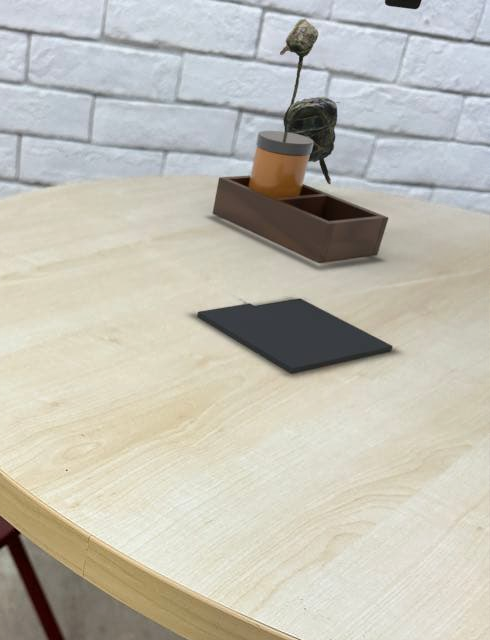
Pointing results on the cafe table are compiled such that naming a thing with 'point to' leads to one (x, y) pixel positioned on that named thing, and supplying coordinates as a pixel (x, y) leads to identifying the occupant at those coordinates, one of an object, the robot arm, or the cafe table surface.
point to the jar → (280, 163)
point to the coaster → (294, 334)
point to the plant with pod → (310, 102)
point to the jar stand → (302, 220)
